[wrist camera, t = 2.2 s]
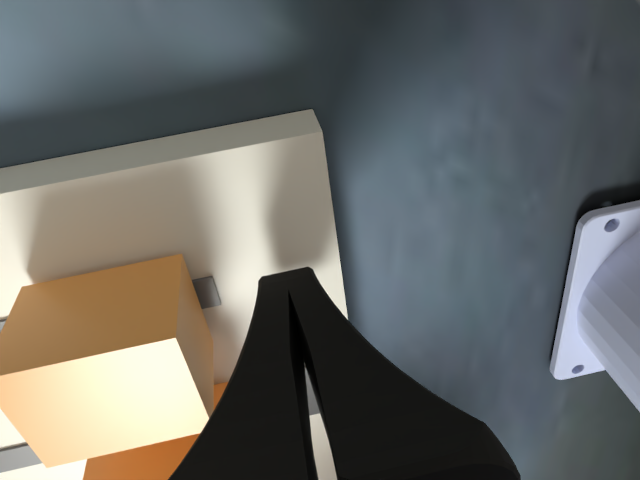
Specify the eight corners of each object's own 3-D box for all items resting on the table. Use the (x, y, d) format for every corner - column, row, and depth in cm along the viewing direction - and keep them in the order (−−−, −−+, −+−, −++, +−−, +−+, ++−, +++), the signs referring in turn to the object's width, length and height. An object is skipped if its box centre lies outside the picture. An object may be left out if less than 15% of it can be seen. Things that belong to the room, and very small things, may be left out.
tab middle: (227, 381, 16) (230, 471, 14) (249, 441, 18) (255, 530, 16) (96, 410, 16) (76, 506, 13) (132, 469, 18) (120, 562, 15)
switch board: (312, 108, 14) (322, 133, 12) (366, 481, 24) (375, 516, 23) (-522, 268, 12) (-608, 313, 11) (-82, 589, 23) (-100, 632, 21)
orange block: (182, 253, 13) (176, 337, 11) (213, 341, 15) (213, 429, 13) (21, 286, 13) (-22, 380, 11) (73, 371, 15) (46, 467, 12)
